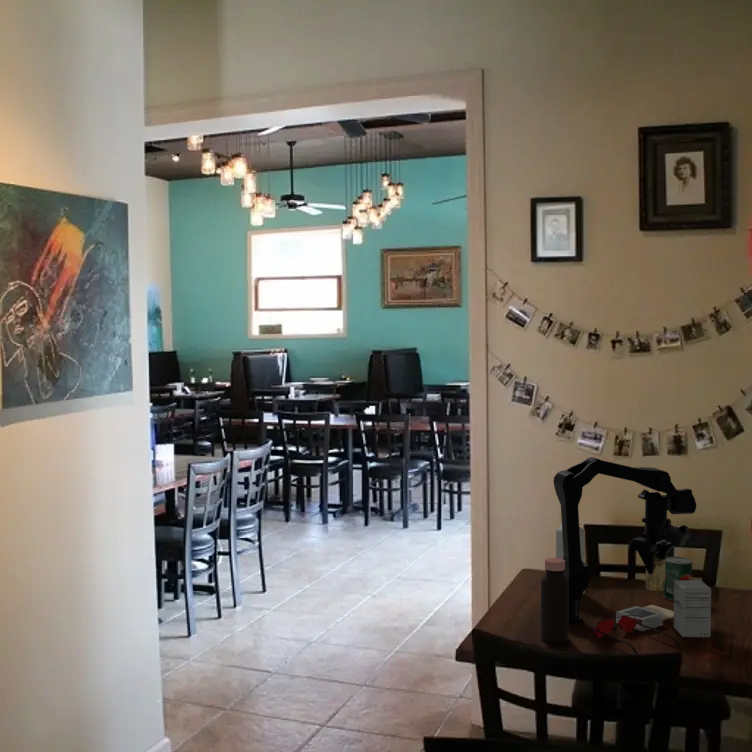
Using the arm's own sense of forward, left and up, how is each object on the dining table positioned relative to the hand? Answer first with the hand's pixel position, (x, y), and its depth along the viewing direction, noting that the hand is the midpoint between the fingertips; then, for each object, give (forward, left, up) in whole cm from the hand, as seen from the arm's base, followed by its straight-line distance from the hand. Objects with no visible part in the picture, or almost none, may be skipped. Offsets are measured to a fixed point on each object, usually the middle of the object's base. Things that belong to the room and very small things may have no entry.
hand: (655, 571), depth 245 cm
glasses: (-23, -12, -12) cm, 28 cm away
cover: (0, 0, -5) cm, 5 cm away
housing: (-10, -3, -12) cm, 16 cm away
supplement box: (-5, -15, -12) cm, 20 cm away
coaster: (0, 0, -12) cm, 12 cm away
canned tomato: (+18, +6, -12) cm, 22 cm away
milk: (-4, +27, -12) cm, 30 cm away
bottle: (-37, +2, -12) cm, 39 cm away
